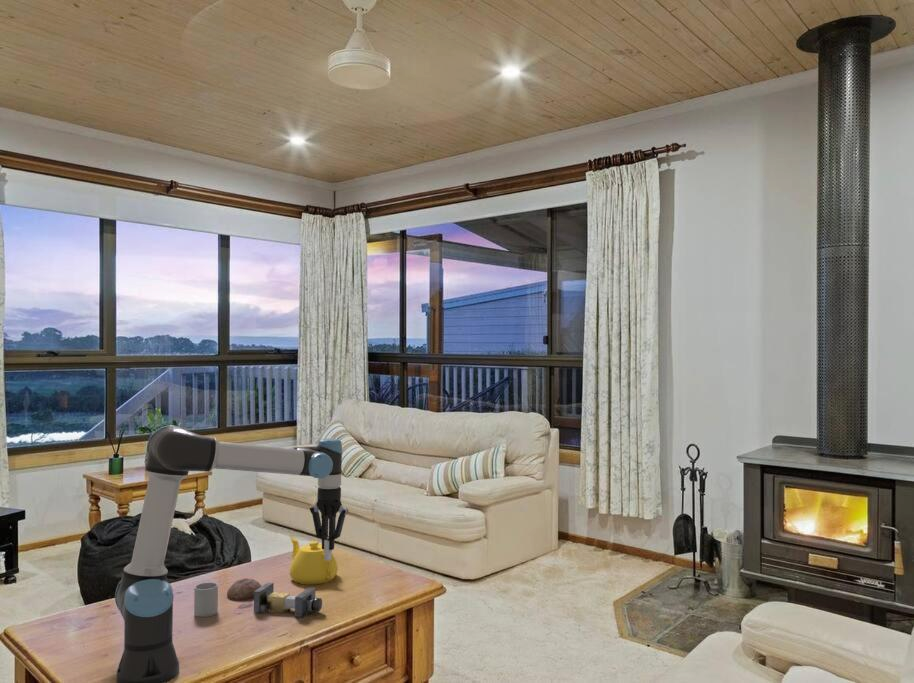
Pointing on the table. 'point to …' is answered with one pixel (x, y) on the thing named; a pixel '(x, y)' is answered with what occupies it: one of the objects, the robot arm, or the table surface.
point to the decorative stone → (243, 589)
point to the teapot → (311, 564)
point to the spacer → (276, 602)
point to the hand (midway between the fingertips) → (327, 559)
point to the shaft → (311, 603)
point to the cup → (206, 599)
